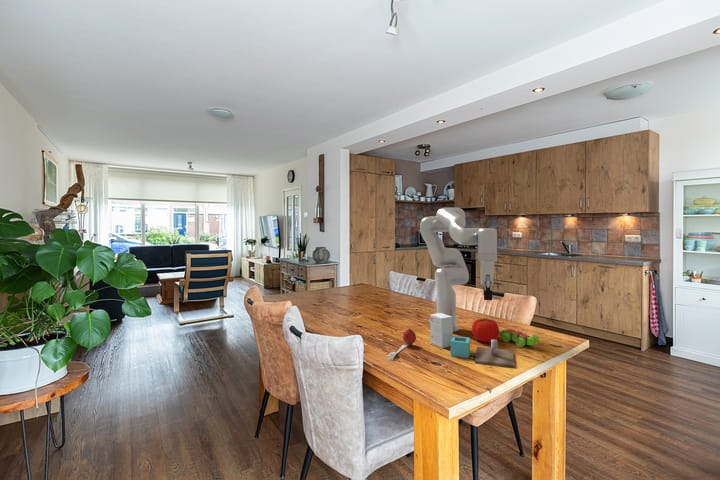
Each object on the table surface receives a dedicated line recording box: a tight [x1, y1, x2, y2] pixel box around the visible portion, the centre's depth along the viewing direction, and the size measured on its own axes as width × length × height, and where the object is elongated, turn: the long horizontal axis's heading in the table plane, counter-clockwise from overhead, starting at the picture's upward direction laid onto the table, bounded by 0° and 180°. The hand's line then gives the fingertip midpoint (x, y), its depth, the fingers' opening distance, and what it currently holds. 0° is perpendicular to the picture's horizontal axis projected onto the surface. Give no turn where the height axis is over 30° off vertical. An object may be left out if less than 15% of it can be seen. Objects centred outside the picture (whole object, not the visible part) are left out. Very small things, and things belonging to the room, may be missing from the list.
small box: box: [429, 312, 454, 349], centre depth 153 cm, size 8×6×13 cm
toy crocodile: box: [498, 328, 540, 348], centre depth 154 cm, size 20×7×6 cm, turn 27°
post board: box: [474, 339, 516, 369], centre depth 137 cm, size 14×16×7 cm
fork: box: [386, 344, 409, 362], centre depth 144 cm, size 3×21×3 cm, turn 153°
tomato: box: [471, 317, 500, 343], centre depth 157 cm, size 12×12×10 cm
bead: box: [450, 335, 471, 359], centre depth 142 cm, size 7×7×6 cm
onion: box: [402, 327, 417, 347], centre depth 153 cm, size 6×6×8 cm
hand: (487, 297), depth 146 cm, fingers open, 9 cm apart
